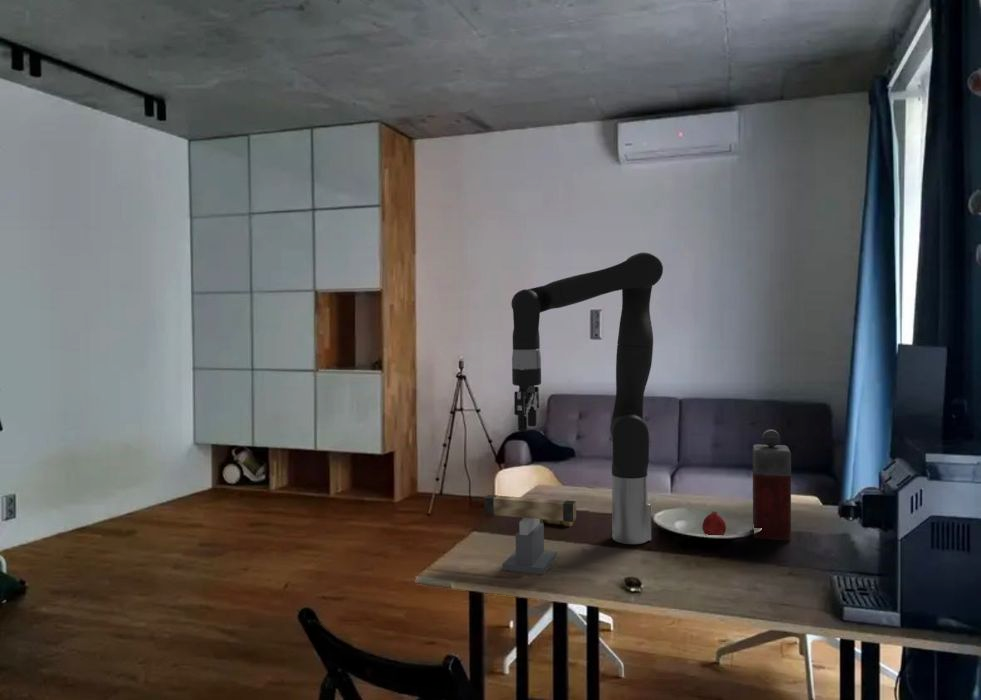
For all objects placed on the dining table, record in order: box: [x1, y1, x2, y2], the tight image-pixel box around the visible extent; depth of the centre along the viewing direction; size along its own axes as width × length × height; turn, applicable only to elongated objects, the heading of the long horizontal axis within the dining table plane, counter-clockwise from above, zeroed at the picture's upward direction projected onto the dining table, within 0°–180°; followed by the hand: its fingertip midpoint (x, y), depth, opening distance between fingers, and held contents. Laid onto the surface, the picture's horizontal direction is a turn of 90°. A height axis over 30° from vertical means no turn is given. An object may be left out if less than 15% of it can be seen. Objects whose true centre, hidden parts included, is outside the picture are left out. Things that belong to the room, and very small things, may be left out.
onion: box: [702, 510, 727, 536], centre depth 178 cm, size 6×6×8 cm
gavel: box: [540, 519, 574, 528], centre depth 204 cm, size 21×5×10 cm
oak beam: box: [483, 494, 577, 523], centre depth 164 cm, size 22×3×4 cm, turn 70°
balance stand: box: [502, 517, 558, 576], centre depth 164 cm, size 10×12×12 cm
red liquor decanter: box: [752, 429, 792, 542], centre depth 184 cm, size 9×11×28 cm
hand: (527, 428), depth 179 cm, fingers open, 8 cm apart
